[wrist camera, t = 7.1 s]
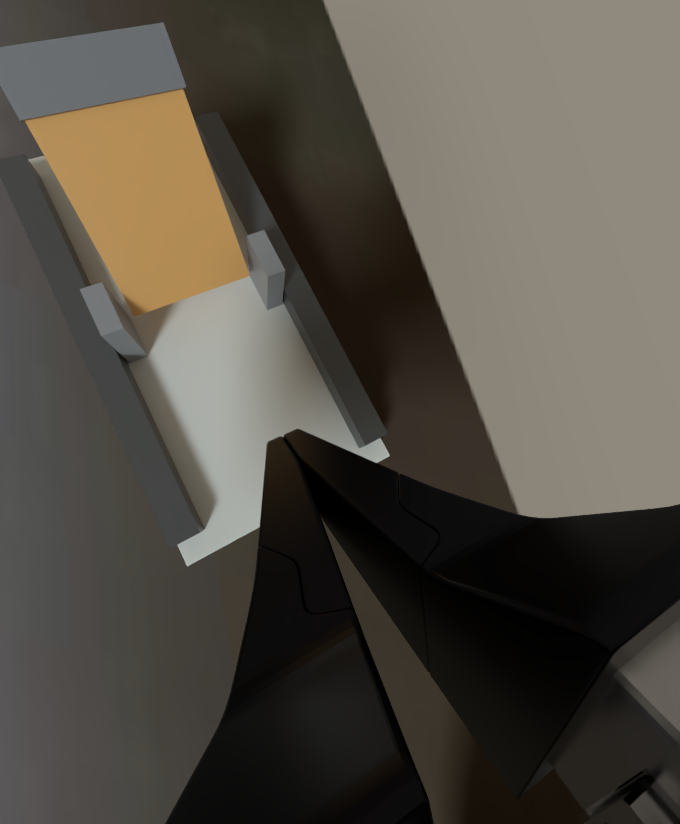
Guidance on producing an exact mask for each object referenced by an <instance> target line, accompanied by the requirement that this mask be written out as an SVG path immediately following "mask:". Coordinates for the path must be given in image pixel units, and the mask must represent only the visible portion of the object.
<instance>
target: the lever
mask: <svg viewBox="0 0 680 824" xmlns="http://www.w3.org/2000/svg"><path fill="white" fill-rule="evenodd" d="M0 86H1V88H2V89H3V91H4V93H5V95H6V96H7V98H8V100H9V102H10V103H11V105H12V107H13V109H14V110H15V112H16V114H17V116H18V118H19V119H20V121H21V122H23V123H24V124H25V125H26V126H27V127H28V128H29V129H30V131H31V133H32V134H33V136H34V138H35V140H36V142H37V143H38V145H39V147H40V149H41V150H42V152H43V154H44V156H45V158H46V159H47V161H48V163H49V165H50V167H51V168H52V170H53V172H54V174H55V175H56V177H57V179H58V181H59V183H60V184H61V186H62V188H63V190H64V191H65V193H66V195H67V197H68V199H69V200H70V202H71V204H72V206H73V208H74V209H75V211H76V213H77V215H78V216H79V218H80V220H81V222H82V224H83V225H84V227H85V229H86V231H87V232H88V234H89V236H90V238H91V240H92V241H93V243H94V245H95V247H96V249H97V250H98V252H99V254H100V256H101V257H102V259H103V261H104V263H105V265H106V266H107V268H108V270H109V272H110V274H111V275H112V277H113V279H114V281H115V282H116V284H117V286H118V288H119V290H120V291H121V293H122V295H123V297H124V298H125V300H126V302H127V304H128V306H129V307H130V309H131V311H132V313H133V315H134V316H138V315H141V314H143V313H146V312H149V311H152V310H155V309H158V308H160V307H163V306H166V305H169V304H172V303H175V302H177V301H180V300H183V299H186V298H189V297H192V296H195V295H197V294H200V293H203V292H206V291H209V290H212V289H214V288H217V287H220V286H223V285H226V284H229V283H231V282H234V281H237V280H240V279H243V278H246V277H248V276H250V274H249V272H248V269H247V266H246V263H245V260H244V258H243V255H242V252H241V249H240V247H239V244H238V241H237V238H236V235H235V233H234V230H233V227H232V224H231V221H230V219H229V216H228V213H227V210H226V207H225V205H224V202H223V199H222V196H221V194H220V191H219V188H218V185H217V182H216V180H215V177H214V174H213V171H212V168H211V166H210V163H209V160H208V157H207V154H206V152H205V149H204V146H203V143H202V141H201V138H200V135H199V132H198V129H197V127H196V124H195V121H194V118H193V115H192V113H191V110H190V107H189V104H188V101H187V99H186V96H185V93H184V92H185V89H186V85H185V82H184V79H183V76H182V73H181V71H180V68H179V65H178V62H177V59H176V57H175V54H174V51H173V48H172V45H171V42H170V40H169V37H168V34H167V31H166V28H165V25H164V23H158V24H151V25H144V26H138V27H131V28H125V29H118V30H111V31H105V32H98V33H91V34H85V35H78V36H72V37H65V38H58V39H52V40H45V41H38V42H32V43H25V44H19V45H12V46H5V47H0Z"/></svg>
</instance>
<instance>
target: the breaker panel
mask: <svg viewBox="0 0 680 824" xmlns="http://www.w3.org/2000/svg"><path fill="white" fill-rule="evenodd" d="M194 119H195V124H196V127H197V129H198V132H199V135H200V138H201V141H202V143H203V146H204V149H205V152H206V154H207V157H208V160H209V163H210V166H211V168H212V171H213V174H214V177H215V180H216V182H217V185H218V188H219V191H220V194H221V196H222V199H223V202H224V205H225V207H226V210H227V213H228V216H229V219H230V221H231V224H232V227H233V230H234V233H235V235H236V238H237V241H238V244H239V247H240V249H241V252H242V255H243V258H244V260H245V263H246V266H247V269H248V272H249V274H250V276H248V277H246V278H243V279H240V280H237V281H234V282H231V283H229V284H226V285H223V286H220V287H217V288H214V289H212V290H209V291H206V292H203V293H200V294H197V295H195V296H192V297H189V298H186V299H183V300H180V301H177V302H175V303H172V304H169V305H166V306H163V307H160V308H158V309H155V310H152V311H149V312H146V313H143V314H141V315H138V316H134V315H133V313H132V311H131V309H130V307H129V306H128V304H127V302H126V300H125V298H124V297H123V295H122V293H121V291H120V290H119V288H118V286H117V284H116V282H115V281H114V279H113V277H112V275H111V274H110V272H109V270H108V268H107V266H106V265H105V263H104V261H103V259H102V257H101V256H100V254H99V252H98V250H97V249H96V247H95V245H94V243H93V241H92V240H91V238H90V236H89V234H88V232H87V231H86V229H85V227H84V225H83V224H82V222H81V220H80V218H79V216H78V215H77V213H76V211H75V209H74V208H73V206H72V204H71V202H70V200H69V199H68V197H67V195H66V193H65V191H64V190H63V188H62V186H61V184H60V183H59V181H58V179H57V177H56V175H55V174H54V172H53V170H52V168H51V167H50V165H49V163H48V161H47V159H46V158H45V156H42V157H37V158H33V159H27V157H26V156H25V154H22V155H18V156H13V157H9V158H4V159H0V176H1V178H2V181H3V183H4V185H5V187H6V189H7V192H8V194H9V196H10V198H11V200H12V203H13V205H14V207H15V209H16V211H17V214H18V216H19V218H20V220H21V222H22V225H23V227H24V229H25V231H26V233H27V236H28V238H29V240H30V242H31V244H32V247H33V249H34V251H35V253H36V255H37V258H38V260H39V262H40V264H41V266H42V269H43V271H44V273H45V275H46V277H47V280H48V282H49V284H50V286H51V288H52V291H53V293H54V295H55V297H56V299H57V302H58V304H59V306H60V308H61V310H62V313H63V315H64V317H65V319H66V321H67V324H68V326H69V328H70V330H71V332H72V335H73V337H74V339H75V341H76V343H77V346H78V348H79V350H80V352H81V354H82V357H83V359H84V361H85V363H86V365H87V368H88V370H89V372H90V374H91V376H92V379H93V381H94V383H95V385H96V387H97V390H98V392H99V394H100V396H101V398H102V401H103V403H104V405H105V407H106V409H107V412H108V414H109V416H110V418H111V420H112V423H113V425H114V427H115V429H116V431H117V434H118V436H119V438H120V440H121V442H122V445H123V447H124V449H125V451H126V453H127V456H128V458H129V460H130V462H131V464H132V467H133V469H134V471H135V473H136V475H137V478H138V480H139V482H140V484H141V486H142V489H143V491H144V493H145V495H146V497H147V500H148V502H149V504H150V506H151V508H152V511H153V513H154V515H155V517H156V519H157V522H158V524H159V526H160V528H161V530H162V533H163V535H164V537H165V539H166V541H167V544H168V546H169V548H172V547H174V546H176V545H178V547H179V550H180V552H181V554H182V556H183V558H184V561H185V563H186V565H187V566H189V565H191V564H193V563H194V562H196V561H198V560H200V559H202V558H204V557H205V556H207V555H209V554H211V553H213V552H215V551H216V550H218V549H220V548H222V547H224V546H226V545H227V544H229V543H231V542H233V541H235V540H237V539H238V538H240V537H242V536H244V535H246V534H248V533H249V532H251V531H253V530H255V529H257V528H259V527H260V517H261V505H262V493H263V481H264V470H265V458H266V446H267V442H268V441H270V440H272V439H275V438H277V437H279V436H282V437H284V434H286V433H288V432H290V431H293V430H295V429H300V430H303V431H305V432H307V433H309V434H312V435H314V436H316V437H318V438H321V439H323V440H325V441H328V442H330V443H332V444H334V445H337V446H339V447H341V448H344V449H346V450H348V451H350V452H353V453H355V454H357V455H359V456H362V457H364V458H366V459H369V460H371V461H373V462H375V463H378V462H380V461H381V460H383V459H385V458H387V457H389V456H390V455H389V453H388V451H387V449H386V447H385V446H384V444H383V442H382V440H381V437H383V436H385V435H387V434H388V433H387V431H386V429H385V427H384V425H383V423H382V421H381V419H380V418H379V416H378V414H377V412H376V410H375V408H374V406H373V404H372V402H371V401H370V399H369V397H368V395H367V393H366V391H365V389H364V387H363V385H362V384H361V382H360V380H359V378H358V376H357V374H356V372H355V370H354V368H353V367H352V365H351V363H350V361H349V359H348V357H347V355H346V353H345V351H344V350H343V348H342V346H341V344H340V342H339V340H338V338H337V336H336V334H335V332H334V331H333V329H332V327H331V325H330V323H329V321H328V319H327V317H326V315H325V314H324V312H323V310H322V308H321V306H320V304H319V302H318V300H317V298H316V297H315V295H314V293H313V291H312V289H311V287H310V285H309V283H308V281H307V280H306V278H305V276H304V274H303V272H302V270H301V268H300V266H299V264H298V263H297V261H296V259H295V257H294V255H293V253H292V251H291V249H290V247H289V245H288V244H287V242H286V240H285V238H284V236H283V234H282V232H281V230H280V228H279V227H278V225H277V223H276V221H275V219H274V217H273V215H272V213H271V211H270V210H269V208H268V206H267V204H266V202H265V200H264V198H263V196H262V194H261V193H260V191H259V189H258V187H257V185H256V183H255V181H254V179H253V177H252V176H251V174H250V172H249V170H248V168H247V166H246V164H245V162H244V160H243V159H242V157H241V155H240V153H239V151H238V149H237V147H236V145H235V143H234V141H233V140H232V138H231V136H230V134H229V132H228V130H227V128H226V126H225V124H224V123H223V121H222V119H221V117H220V115H219V113H218V111H216V112H211V113H207V114H202V115H198V116H194Z"/></svg>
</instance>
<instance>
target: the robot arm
mask: <svg viewBox="0 0 680 824" xmlns="http://www.w3.org/2000/svg"><path fill="white" fill-rule="evenodd" d="M320 516H321V517H320ZM321 518H322V519H323V521H324V522H325V524H326V525H327V527H328V528H329V530H330V531H331V533H332V534H333V535H334V537H335V538H336V540H337V541H338V543H339V544H340V545H341V547H342V548H343V550H344V551H345V553H346V554H347V556H348V557H349V558H350V560H351V561H352V563H353V564H354V566H355V567H356V569H357V570H358V571H359V573H360V574H361V576H362V577H363V579H364V580H365V581H366V583H367V584H368V586H369V587H370V589H371V590H372V592H373V593H374V594H375V596H376V597H377V599H378V600H379V602H380V603H381V605H382V606H383V607H384V609H385V610H386V612H387V613H388V615H389V616H390V617H391V619H392V620H393V622H394V623H395V625H396V626H397V628H398V629H399V630H400V632H401V633H402V635H403V636H404V638H405V639H406V641H407V642H408V643H409V645H410V646H411V648H412V649H413V651H414V652H415V653H416V655H417V656H418V658H419V659H420V661H421V662H422V664H423V665H424V666H425V668H426V669H427V671H428V672H430V675H431V677H432V678H433V680H434V681H435V682H436V684H437V685H438V687H439V688H440V690H441V691H442V692H443V694H444V695H445V697H446V698H447V700H448V701H449V703H450V704H451V705H452V707H453V708H454V710H455V711H456V713H457V714H458V715H459V717H460V718H461V720H462V721H463V723H464V724H465V726H466V727H467V728H468V730H469V731H470V733H471V734H472V736H473V737H474V738H475V740H476V741H477V743H478V744H479V746H480V747H481V749H482V750H483V751H484V753H485V754H486V756H487V757H488V759H489V760H490V761H491V763H492V764H493V766H494V767H495V769H496V770H497V772H498V773H499V774H500V776H501V777H502V779H503V780H504V782H505V783H506V784H507V786H508V787H509V789H510V790H511V792H512V793H513V794H514V796H515V797H516V799H519V798H521V797H522V796H523V795H524V794H525V793H526V792H527V791H529V790H530V789H531V788H532V787H533V786H534V785H535V784H537V783H538V782H539V781H540V780H541V779H542V778H543V777H545V776H546V775H547V774H548V773H549V772H550V771H551V770H553V769H554V770H555V772H556V773H557V774H558V776H559V777H560V779H561V780H562V781H563V783H564V784H565V786H566V787H567V788H568V790H569V791H570V792H571V794H572V795H573V797H574V798H575V799H576V801H577V802H578V804H579V805H580V806H581V808H582V809H583V810H584V812H585V813H586V815H587V816H588V818H587V819H586V820H585V821H584V822H583V823H582V824H680V504H679V505H674V506H670V507H663V508H655V509H646V510H635V511H624V512H612V513H602V514H592V515H580V516H570V517H559V518H535V517H528V516H523V515H519V514H515V513H511V512H508V511H505V510H502V509H499V508H495V507H492V506H489V505H486V504H483V503H480V502H477V501H473V500H470V499H467V498H464V497H461V496H458V495H455V494H452V493H449V492H446V491H443V490H440V489H437V488H434V487H432V486H429V485H427V484H424V483H422V482H419V481H417V480H414V479H412V478H410V477H408V476H405V475H403V474H400V475H399V473H398V472H396V471H394V470H391V469H389V468H387V467H384V466H382V465H380V464H378V463H375V462H373V461H371V460H369V459H366V458H364V457H362V456H359V455H357V454H355V453H353V452H350V451H348V450H346V449H344V448H341V447H339V446H337V445H334V444H332V443H330V442H328V441H325V440H323V439H321V438H318V437H316V436H314V435H312V434H309V433H307V432H305V431H303V430H300V429H295V430H293V431H290V432H288V433H286V434H284V437H282V436H279V437H277V438H275V439H272V440H270V441H268V442H267V446H266V458H265V470H264V481H263V493H262V505H261V517H260V529H259V540H258V547H259V548H258V550H257V562H256V570H255V579H254V586H253V592H252V597H251V602H250V607H249V612H248V617H247V621H246V626H245V630H244V635H243V639H242V644H241V648H240V653H239V657H238V662H237V666H236V671H235V675H234V680H233V684H232V688H231V692H230V695H229V699H228V702H227V706H226V708H225V711H224V714H223V717H222V719H221V721H220V723H219V726H218V728H217V730H216V732H215V734H214V736H213V738H212V739H211V741H210V743H209V745H208V747H207V749H206V750H205V752H204V754H203V756H202V758H201V759H200V761H199V763H198V765H197V767H196V769H195V770H194V772H193V774H192V776H191V778H190V779H189V781H188V783H187V785H186V787H185V789H184V790H183V792H182V794H181V796H180V798H179V799H178V801H177V803H176V805H175V807H174V809H173V810H172V812H171V814H170V816H169V818H168V819H167V821H166V823H165V824H434V823H433V818H432V813H431V808H430V803H429V799H428V796H427V794H426V791H425V789H424V786H423V784H422V781H421V779H420V777H419V774H418V772H417V769H416V767H415V764H414V762H413V759H412V757H411V754H410V752H409V749H408V747H407V744H406V741H405V739H404V736H403V734H402V731H401V729H400V726H399V724H398V721H397V718H396V716H395V713H394V711H393V708H392V706H391V703H390V701H389V698H388V696H387V693H386V690H385V688H384V685H383V683H382V680H381V678H380V675H379V673H378V670H377V667H376V665H375V662H374V660H373V657H372V655H371V652H370V650H369V647H368V645H367V642H366V639H365V637H364V634H363V631H362V629H361V626H360V623H359V621H358V618H357V615H356V612H355V610H354V607H353V604H352V602H351V599H350V596H349V593H348V591H347V588H346V585H345V582H344V580H343V577H342V574H341V571H340V569H339V566H338V563H337V560H336V558H335V555H334V552H333V550H332V547H331V544H330V541H329V539H328V536H327V533H326V530H325V528H324V525H323V522H322V519H321Z"/></svg>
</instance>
